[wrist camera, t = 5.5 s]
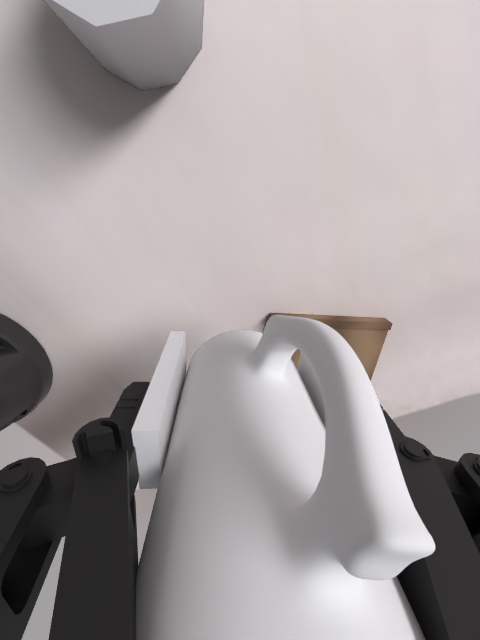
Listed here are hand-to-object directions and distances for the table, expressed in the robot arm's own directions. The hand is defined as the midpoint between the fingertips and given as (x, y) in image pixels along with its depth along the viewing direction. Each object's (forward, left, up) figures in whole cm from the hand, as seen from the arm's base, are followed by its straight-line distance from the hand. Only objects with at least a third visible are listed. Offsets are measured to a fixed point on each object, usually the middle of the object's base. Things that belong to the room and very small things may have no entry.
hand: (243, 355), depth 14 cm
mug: (0, 0, 0) cm, 1 cm away
